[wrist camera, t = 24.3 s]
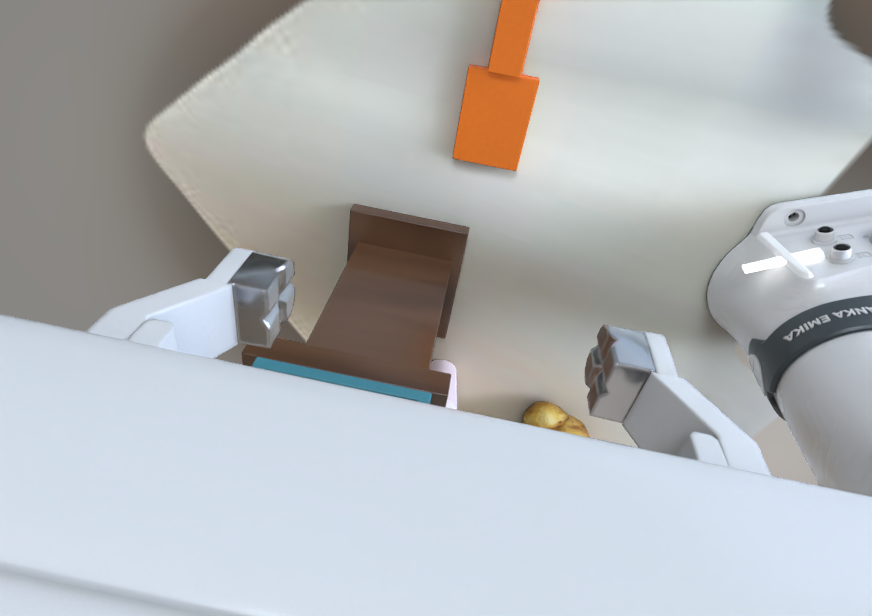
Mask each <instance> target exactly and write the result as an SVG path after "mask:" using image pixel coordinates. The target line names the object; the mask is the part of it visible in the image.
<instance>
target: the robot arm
mask: <svg viewBox="0 0 872 616" xmlns="http://www.w3.org/2000/svg"><path fill="white" fill-rule="evenodd" d="M792 213H796V214H795V215H794V216H793V217H791V218H788V217H789V215H790V214H792ZM294 274H295V267H294V262H293V260H292V259H287V258H283V257H279V256H274V255H270V254H265V253H261V252H257V251H256V252H255V251H252V250H247V249H242V248H238V247H237V248H233V249H232V250H231V251H230V252H229V253H228V255H227V256H226V257H225V258H224V259H223V260H222V261H221V263H220V264H219V265H218V266H217V267H216V268H215V269H214V270H213V271H212V273H211V274H210V275H209V276H208V277H207V278H206V279H200V278H199V279H196V280H194V281H190V282H187V283H185V284H182V285H178V286H175V287H173V288H170V289H167V290H164V291H161V292H158V293H155V294H152V295H149V296H146V297H143V298H140V299H137V300H134V301H131V302H128V303H125V304H122V305H119V306H116V307H113V308H111V309H110V310H108V312H106V313H105V314H104V315H103V316H102V317H101V318H100V319H99V320H98V321H97V322H96V323H95V324H94V325H92V326H91V327H90V328H89V329H88V330H87V331H86V332H84V331H79V330H74V329H70V328H65V327H60V326H55V325H50V324H45V323H41V322H36V321H31V320H27V319H22V318H17V317H12V316H7V315H3V314H0V616H872V189H869V190H862V191H855V192H848V193H841V194H835V195H828V196H821V197H815V198H808V199H801V200H794V201H788V202H781V203H776V204H773V205H771V206H769V207H768V208H767V209H765V210H764V212H763V213H762V214H761V215H760V217H759V218H758V220H757V222H756V223H755V225H754V227H753V229H752V231H751V232H750V234H749V235H748V236H747V237H746V238H745V239H744V240H743V241H742V242H740V243H739V244H738V245H737V246H736V247H735V248H733V249H732V250H731V251H730V252H729V253H728V254H727V255H726V256H725V257H724V258H723V260H722V261H721V262H720V263H719V265H718V266H717V268H716V269H715V271H714V273H713V275H712V277H711V280H710V283H709V286H708V292H707V302H708V307H709V310H710V313H711V315H712V317H713V318H714V320H715V321H716V322H717V323H718V324H719V325H720V326H721V327H722V328H723V329H725V330H726V331H727V332H728V333H730V334H731V335H732V336H733V337H734V338H735V339H736V341H737V342H738V343H739V344H740V345H741V347H742V348H743V349H744V351H745V352H746V353H747V354H748V356H749V363H750V366H751V369H752V371H753V373H754V375H755V377H756V379H757V382H758V384H759V386H760V388H761V390H762V392H763V393H764V395H765V396H767V398H768V400H769V401H770V403H771V405H772V407H773V408H774V410H775V412H776V413H777V414H778V415H779V416H780V417H781V418H783V419H784V420H785V421H786V422H787V424H788V426H789V428H790V430H791V431H792V434H793V436H794V438H795V440H796V442H797V443H798V445H799V447H800V449H801V451H802V453H803V455H804V457H805V459H806V461H807V463H808V465H809V467H810V469H811V471H812V473H813V474H814V476H815V478H816V481H817V482H818V485H819V486H817V485H812V484H808V483H803V482H798V481H793V480H789V479H784V478H779V477H774V476H771V474H770V472H769V469H768V467H767V465H766V462H765V460H764V458H763V456H762V453H761V451H760V449H759V446H758V444H757V443H756V442H755V441H754V440H753V439H751V438H750V437H749V436H748V435H747V434H746V433H745V432H744V431H742V430H741V429H740V428H739V427H738V426H737V425H736V424H735V423H733V422H732V421H731V420H730V419H729V418H728V417H727V416H726V415H725V414H723V413H722V412H721V411H720V410H719V409H718V408H717V407H716V406H714V405H713V404H712V403H711V402H710V401H709V400H708V399H707V398H705V397H704V396H703V395H702V394H701V393H700V392H699V391H698V390H697V389H695V388H694V387H693V386H692V385H691V384H690V383H689V382H688V381H686V380H685V379H683V378H679V377H678V374H677V371H676V368H675V365H674V362H673V359H672V356H671V353H670V350H669V347H668V345H667V342H666V339H665V337H664V336H663V335H661V334H655V333H649V332H644V331H643V332H641V331H636V330H631V329H626V328H620V327H615V326H610V325H605V324H604V325H603V326H602V327H601V329H600V331H599V333H598V335H597V339H598V345H597V346H596V347H594V348H592V349H591V351H590V353H589V356H588V358H587V362H586V367H585V383H586V385H587V386H588V387H589V388H590V391H589V393H588V395H587V399H588V406H589V414H590V416H594V417H598V418H603V419H607V420H611V421H615V422H620V423H623V424H622V425H623V426H624V428H625V429H626V431H627V432H628V433H629V435H630V436H631V437H632V439H633V440H634V442H635V443H636V444H637V446H638V447H639V448H637V447H632V446H627V445H622V444H618V443H613V442H608V441H603V440H599V439H594V438H589V437H584V436H579V435H575V434H570V433H565V432H560V431H556V430H551V429H546V428H541V427H537V426H532V425H527V424H522V423H517V422H513V421H508V420H503V419H498V418H494V417H489V416H484V415H479V414H474V413H470V412H465V411H460V410H455V409H451V408H446V407H441V406H436V405H432V404H427V403H422V402H417V401H413V400H408V399H403V398H398V397H394V396H389V395H384V394H379V393H374V392H370V391H365V390H360V389H355V388H351V387H346V386H341V385H336V384H332V383H327V382H322V381H317V380H313V379H308V378H303V377H298V376H294V375H289V374H284V373H279V372H274V371H270V370H265V369H260V368H255V367H251V366H246V365H241V364H236V363H232V362H226V361H222V360H217V359H214V358H216V357H217V356H219V355H220V354H222V353H224V352H226V351H227V350H229V349H231V348H232V347H234V346H236V345H238V343H243V344H248V345H253V346H259V347H264V348H271V347H272V345H273V344H274V342H275V340H276V339H277V337H278V335H279V334H280V324H282V323H284V322H286V321H287V320H288V318H289V316H290V314H291V312H292V308H293V305H294V299H295V287H294V286H293V284H292V283H291V279H292V277H293V276H294Z"/></svg>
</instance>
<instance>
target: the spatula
mask: <svg viewBox="0 0 872 616" xmlns="http://www.w3.org/2000/svg"><path fill="white" fill-rule="evenodd" d="M538 4H539V0H502V1H501V6H500V11H499V16H498V21H497V26H496V31H495V36H494V41H493V46H492V51H491V56H490V61H489V66H488V68H486V67H481V66H476V65H471V64H470V65H469V68H468V73H467V79H466V84H465V90H464V96H463V101H462V107H461V112H460V118H459V124H458V129H457V135H456V140H455V146H454V151H453V157H452V158H453V159H458V160H463V161H468V162H473V163H478V164H483V165H488V166H493V167H498V168H503V169H508V170H513V171H516V170H517V166H518V162H519V158H520V154H521V150H522V147H523V143H524V139H525V135H526V131H527V127H528V124H529V120H530V116H531V112H532V108H533V104H534V100H535V97H536V93H537V89H538V85H539V78H537V77H532V76H527V75H522V71H523V66H524V62H525V58H526V54H527V50H528V45H529V41H530V37H531V33H532V29H533V25H534V20H535V16H536V12H537V8H538Z"/></svg>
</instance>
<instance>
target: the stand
mask: <svg viewBox="0 0 872 616" xmlns="http://www.w3.org/2000/svg"><path fill="white" fill-rule="evenodd" d="M468 231H469V227H465V226H460V225H455V224H450V223H446V222H441V221H436V220H431V219H426V218H421V217H416V216H411V215H406V214H401V213H397V212H392V211H387V210H382V209H377V208H372V207H367V206H362V205H357V204H354V205H353V207H352V208H351V210H350V225H349V241H348V258H347V265H346V267H345V269H344V270H343V272H342V274H341V276H340V278H339V280H338V282H337V284H336V286H335V288H334V290H333V292H332V294H331V296H330V298H329V300H328V302H327V304H326V306H325V308H324V310H323V312H322V314H321V315H320V317H319V319H318V321H317V323H316V325H315V327H314V329H313V331H312V333H311V335H310V337H309V339H308V341H307V343H306V344H305V343H300V342H295V341H291V340H286V339H281V338H277V339H276V340H275V342H274V344H273V345H272V347H271V348H264V347H259V346H253V345H248V344H247V345H246V347H245V348H244V350H243V352H242V362H243V365H246V366H252V364H253V363H254V361H255V359H256V358H257V357H261V358H265V359H270V360H275V361H280V362H285V363H289V364H294V365H299V366H304V367H308V368H313V369H318V370H323V371H328V372H332V373H337V374H342V375H347V376H351V377H356V378H361V379H366V380H371V381H375V382H380V383H385V384H390V385H394V386H399V387H404V388H409V389H414V390H418V391H423V392H428V393H431V394H432V396H431V401H430V404H432V405H436V406H441V407H446V403H447V399H448V394H449V388H450V382H451V374H449V373H444V372H439V371H435V370H430V366H431V361H432V357H433V352H434V347H435V342H436V338H437V337H440V338H445V337H446V332H447V328H448V323H449V319H450V314H451V310H452V305H453V300H454V296H455V291H456V287H457V282H458V277H459V273H460V268H461V264H462V259H463V255H464V250H465V245H466V241H467V236H468Z"/></svg>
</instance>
